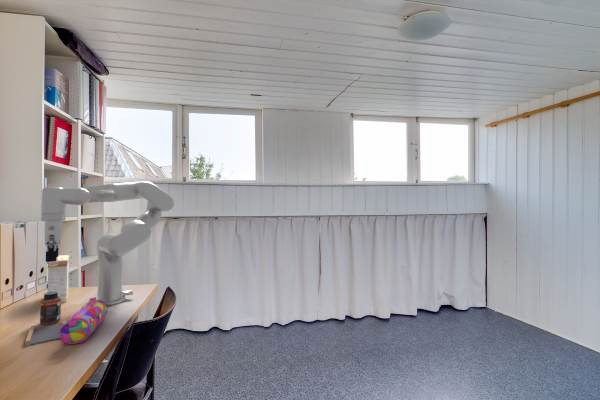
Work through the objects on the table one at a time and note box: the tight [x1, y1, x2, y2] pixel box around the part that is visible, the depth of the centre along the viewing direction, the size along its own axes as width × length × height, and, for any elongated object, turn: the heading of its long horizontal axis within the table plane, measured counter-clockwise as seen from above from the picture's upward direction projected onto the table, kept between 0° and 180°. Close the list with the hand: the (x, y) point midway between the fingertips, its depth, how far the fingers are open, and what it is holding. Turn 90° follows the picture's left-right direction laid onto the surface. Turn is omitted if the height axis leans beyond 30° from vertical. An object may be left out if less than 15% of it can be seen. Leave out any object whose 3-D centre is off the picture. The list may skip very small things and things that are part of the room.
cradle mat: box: [24, 319, 68, 347], centre depth 100 cm, size 10×14×2 cm
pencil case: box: [59, 297, 108, 345], centre depth 102 cm, size 22×9×9 cm, turn 23°
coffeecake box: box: [47, 254, 70, 303], centre depth 135 cm, size 15×7×20 cm, turn 36°
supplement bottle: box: [39, 291, 62, 326], centre depth 109 cm, size 6×6×11 cm
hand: (52, 259), depth 116 cm, fingers open, 9 cm apart
